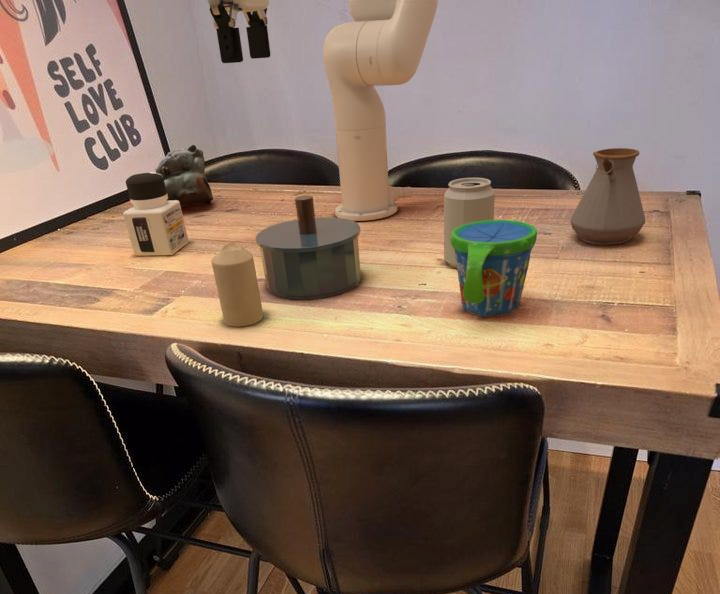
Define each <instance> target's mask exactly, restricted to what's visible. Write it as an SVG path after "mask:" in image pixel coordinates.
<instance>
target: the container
mask: <svg viewBox="0 0 720 594" xmlns="http://www.w3.org/2000/svg"><path fill="white" fill-rule="evenodd" d="M125 185H126V190H127V192H128V196H129V200H130V203H131V205H133V206H132V207H129V208H128V209H126V210H125V211H123V213H122V216H123V219H124V223H125V226H126V230H127V234H128V237H129V241H130V245H131V248H132V251H133V255H134V256H136V257H138V256H141V257H142V256H143V257H145V256H172V255H174V254H175V253H177V252H178V251H179V250H181V249H182V248H183V247H185V246H186V245H188V244H189V237H188V232H187V229H186V224H185V219H184V216H183V211H182V206H180V202H179V201H178V200H172V201H167V199H168V195H167V191H166V187H165V182H164V178H163V176H162V175H161V174H158V173H156V171H154V172H153V171H147V172H140V173H135V174H132V175H130V176H129V177H127V178H126V180H125Z"/></svg>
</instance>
